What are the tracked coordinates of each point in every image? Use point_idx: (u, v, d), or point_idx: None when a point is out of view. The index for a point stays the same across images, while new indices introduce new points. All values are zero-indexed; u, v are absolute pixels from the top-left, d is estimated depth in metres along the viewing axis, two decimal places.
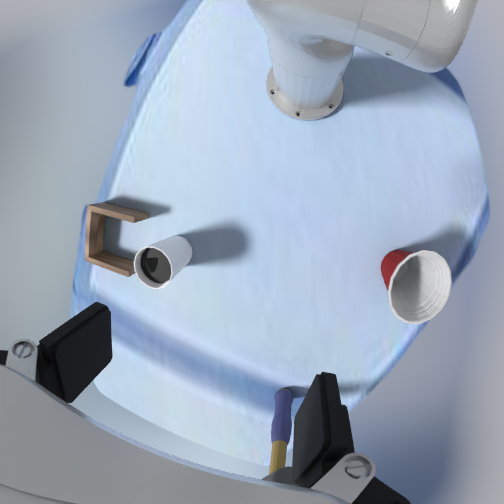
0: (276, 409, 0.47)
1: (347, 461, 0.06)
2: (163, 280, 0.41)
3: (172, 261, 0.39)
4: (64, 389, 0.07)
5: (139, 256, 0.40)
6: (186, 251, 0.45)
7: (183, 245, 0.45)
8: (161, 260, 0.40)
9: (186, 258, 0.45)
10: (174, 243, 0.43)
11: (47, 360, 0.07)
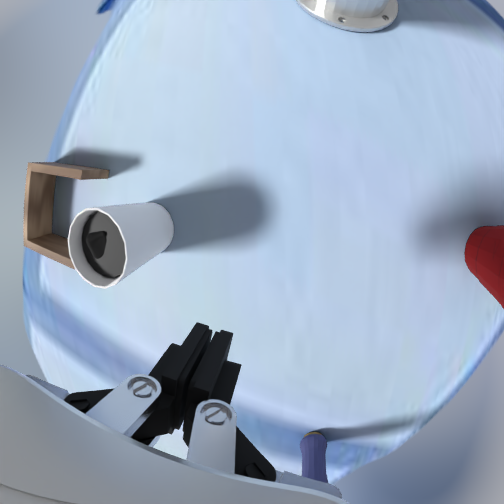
0: (305, 465, 0.27)
1: (211, 407, 0.07)
2: (116, 273, 0.21)
3: (128, 234, 0.19)
4: (179, 417, 0.08)
5: (78, 230, 0.20)
6: (161, 224, 0.26)
7: (157, 214, 0.25)
8: (112, 235, 0.20)
9: (161, 236, 0.25)
10: (140, 208, 0.23)
11: (167, 392, 0.08)
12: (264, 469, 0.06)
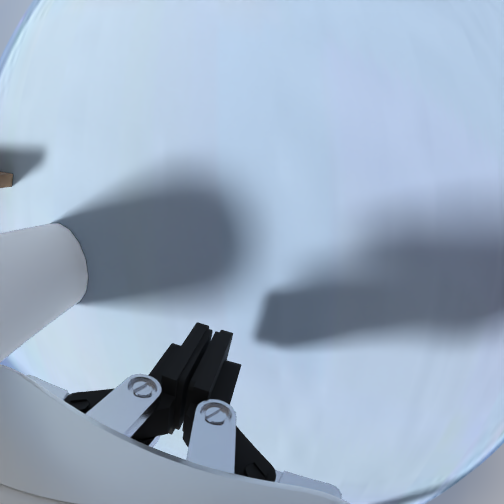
0: None
1: (211, 407, 0.07)
2: None
3: None
4: (179, 418, 0.08)
5: None
6: (54, 268, 0.12)
7: (47, 249, 0.12)
8: None
9: (54, 289, 0.12)
10: (11, 243, 0.10)
11: (168, 393, 0.08)
12: (264, 469, 0.06)
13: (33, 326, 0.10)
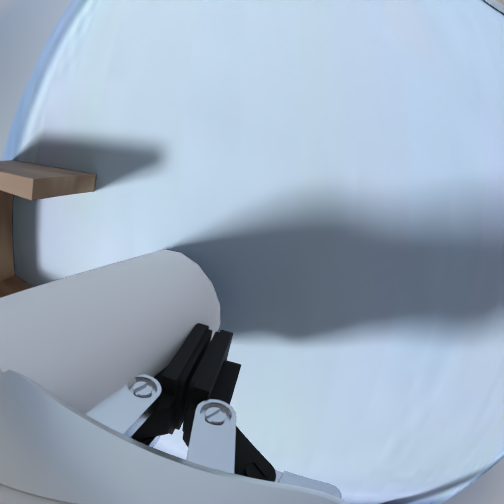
0: None
1: (211, 407, 0.07)
2: None
3: None
4: (179, 418, 0.08)
5: None
6: (186, 325, 0.10)
7: (174, 300, 0.10)
8: None
9: None
10: (122, 295, 0.09)
11: (168, 393, 0.08)
12: (264, 469, 0.06)
13: None
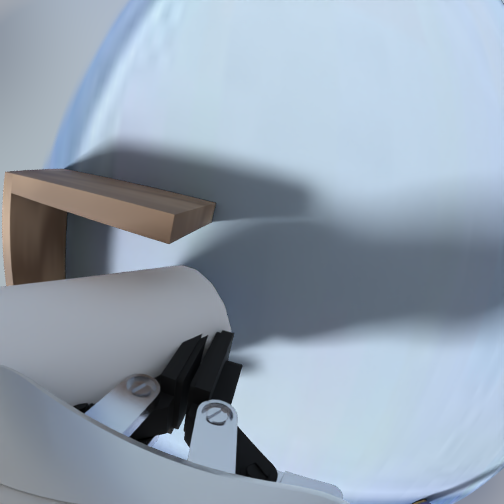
0: None
1: (213, 407, 0.07)
2: None
3: None
4: (178, 417, 0.08)
5: None
6: None
7: (173, 316, 0.10)
8: None
9: None
10: (114, 303, 0.08)
11: (166, 392, 0.08)
12: (265, 469, 0.06)
13: None
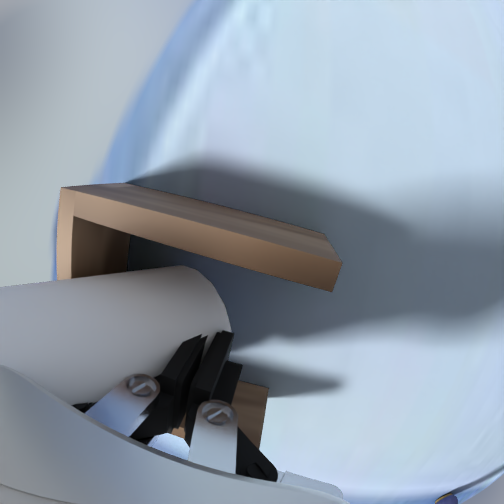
0: None
1: (213, 407, 0.07)
2: None
3: None
4: (178, 417, 0.08)
5: None
6: None
7: (173, 316, 0.10)
8: None
9: None
10: (113, 303, 0.08)
11: (166, 392, 0.08)
12: (266, 469, 0.06)
13: None
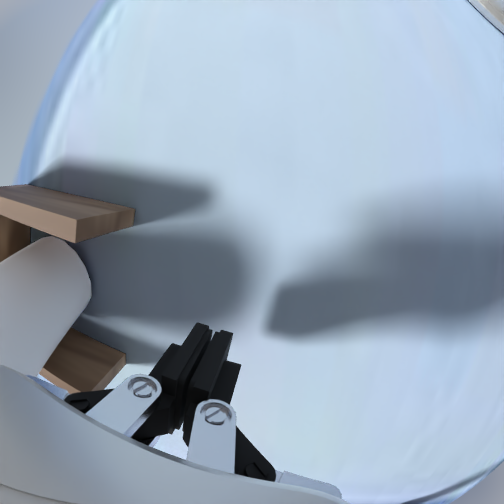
0: None
1: (211, 407, 0.07)
2: None
3: None
4: (179, 418, 0.08)
5: None
6: (57, 284, 0.12)
7: (46, 268, 0.12)
8: None
9: (62, 305, 0.12)
10: (11, 273, 0.10)
11: (168, 393, 0.08)
12: (264, 469, 0.06)
13: (50, 346, 0.11)
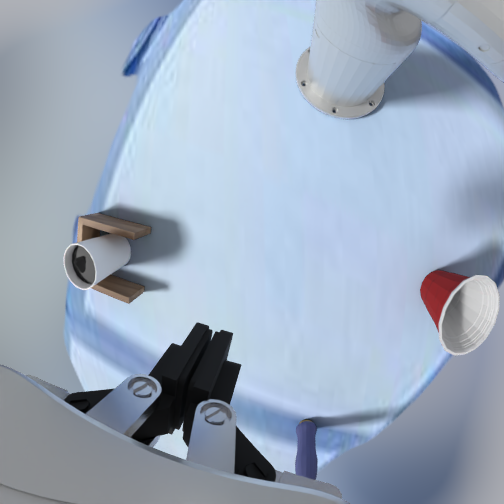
0: (299, 444, 0.39)
1: (211, 407, 0.07)
2: (93, 280, 0.34)
3: (95, 256, 0.32)
4: (179, 418, 0.08)
5: (69, 256, 0.33)
6: (120, 247, 0.38)
7: (116, 241, 0.38)
8: (88, 258, 0.33)
9: (120, 255, 0.38)
10: (104, 239, 0.36)
11: (168, 393, 0.08)
12: (264, 469, 0.06)
13: (113, 267, 0.36)
